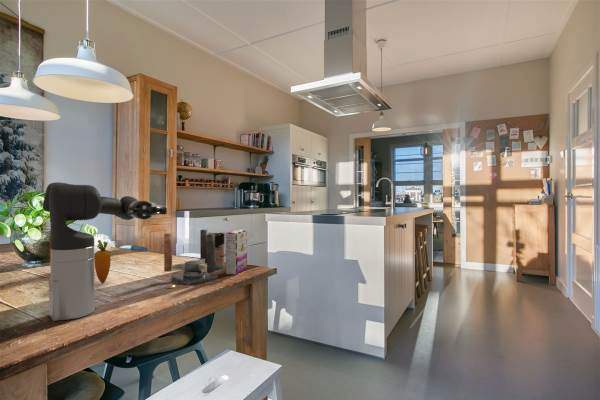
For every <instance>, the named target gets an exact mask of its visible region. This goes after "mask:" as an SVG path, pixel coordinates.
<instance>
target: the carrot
mask: <svg viewBox="0 0 600 400" xmlns="http://www.w3.org/2000/svg"><path fill="white" fill-rule="evenodd" d="M97 243H98V244H97V246H96V247H97V248H98V249H99V250H97V251H96V252H94V271H95V274H96V277H97V278H98V280H99V282H100V283H101V284H105V282H107V279H108V276H109V274H110V268H111V262H112V261H111V257H112V254H111V251H110V250H106V249H107V246H108V245H109V242H108V241H103V242H102V241H101V239H98V240H97Z"/></svg>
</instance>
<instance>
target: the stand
mask: <svg viewBox="0 0 600 400" xmlns="http://www.w3.org/2000/svg"><path fill="white" fill-rule="evenodd" d="M171 279H173V280H175V281H177V282H179V283H182V284H184V285H186V286H187V285H192V284H196V283H201V282H206V281H211V280H217V279H218V275H217V274H214V273H207V272H204V271H194V272H189V271H185V270H182V273H177V274H171ZM165 286H166V289H174V288H177V285H176V284H167V285H165Z"/></svg>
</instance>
